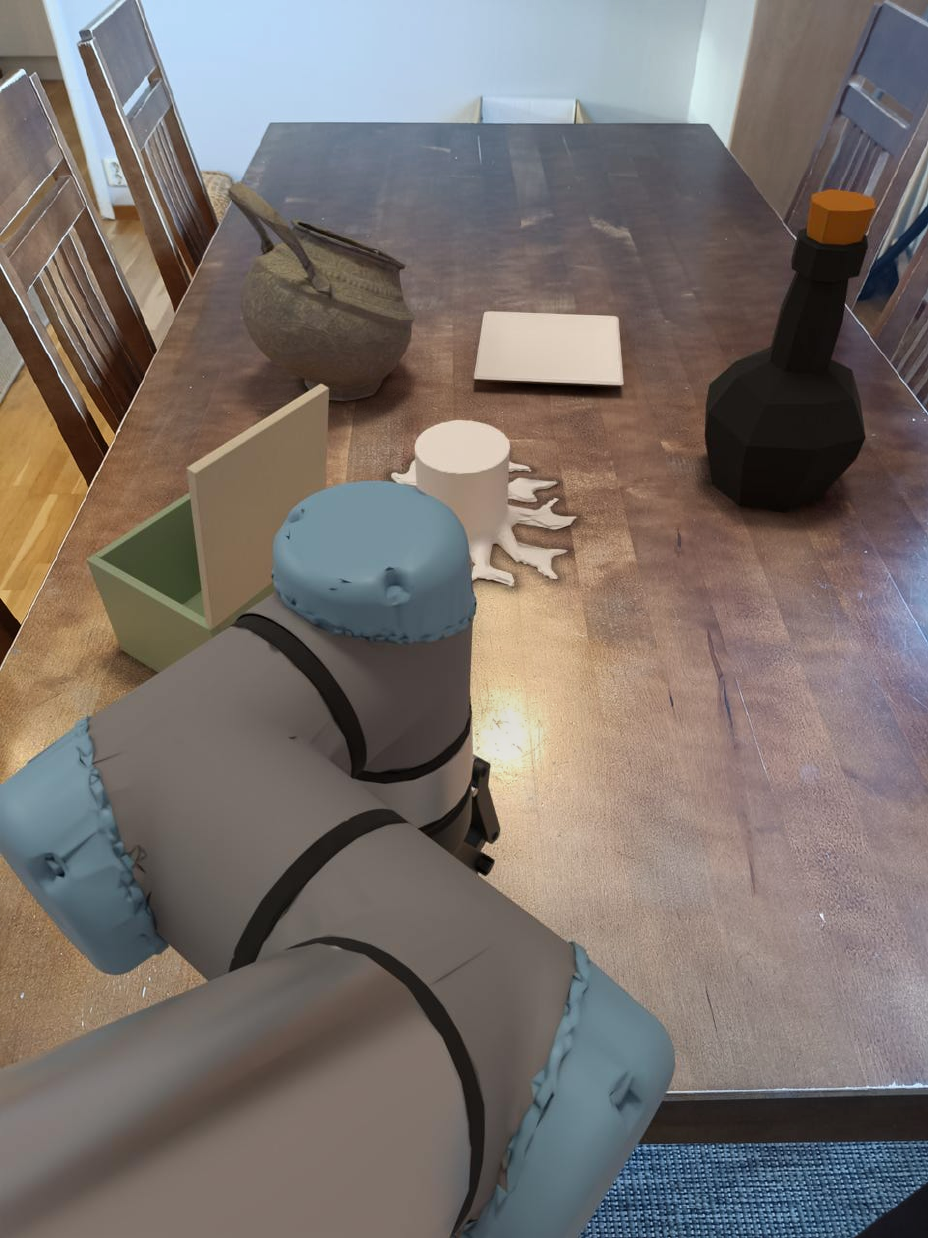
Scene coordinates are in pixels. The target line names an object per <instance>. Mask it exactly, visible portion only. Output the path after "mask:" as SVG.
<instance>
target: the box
mask: <svg viewBox="0 0 928 1238" xmlns="http://www.w3.org/2000/svg"><path fill="white" fill-rule="evenodd" d="M86 562H87V565H88V569H89V571H90V573H91V576H92V578H93V581H94V583H95V585H96V588H97V591H98V594H99V596H100V599H101V602H102V603H103V606H104V609H105V611H106V614H107V617H108V619H109V622H110V625H111V627H112V629H113V632H114V635H115V637H116V640H117V643H118V645H119V648H120V649H121V651H123V652H124V653H125V654H127V655H128V656H130V657H132V658H134V659H135V660H137V661H139V663H142V664H143V665H145V666H147V667H148V668H150V669H151V670H153V671H154V672H156V673H157V674H158V673H160V672H161V671H163V670H164V669H166V668H167V667H169V666H170V665H172V664H173V663H175V662H177V661H178V660H180V659H181V658H183V657H184V656H186V655H187V654H189V653H190V652H192V651H193V650H195V649H196V648H198V647H199V646H201V645H202V644H204V643H206V642H207V641H209V640H210V639H212V638H213V637H215V636H216V635H218V634H219V633H221V632H222V631H223V630H224V629H226V628H227V627H229V626H230V625H232V624H233V623H235V621H236V619H237V618H238V617H239V616H241V615H242V614H243V613H245V612H246V611H247V610H249V609H250V608H252V607H253V606H255V605H256V604H258V603H259V602H261V601H263V600H264V599H265V598H267V597H268V596H270V595H271V594H273V593H274V592H275V588H276V587H275V586H274V585H273V583H274V581H273V582H272V583H271V584H270V585H268V586H267V587H266V588H264V589H263V590H262V591H261V592H259V593H258V594H257V595H256V596H254V597H253V598H252V599H250V600H249V601H248V602H247V603H245V604H244V605H243V606H242V607H240V608H239V609H238V610H236V611H235V612H234V613H233V614H231V615H230V616H229V617H228V618H226V619H225V620H224V621H222V622H221V623H220V624H219V625H217V626H216V627H215V628H211V627H210V626H209V625H207V624H206V620H205V612H204V604H203V596H202V588H201V580H200V572H199V564H198V556H197V548H196V540H195V532H194V523H193V515H192V507H191V499H190V491H189V492H188V493H186V494H184V495H183V496H181V497H179V498H178V499H177V500H175V501H174V502H172V503H170V504H169V505H168V506H166V507H164V508H163V509H161V510H159V511H158V512H157V513H155V514H153V515H152V516H150V517H149V518H147V519H146V520H144V521H143V522H141V523H139V524H138V525H137V526H135V527H133V528H132V529H131V530H129V531H128V532H126V533H125V534H123V535H121V536H119V537H118V538H117V539H115V540H114V541H111V542H110V543H109V544H107V545H105V546H104V547H103V548H101V549H100V550H98V551H97V552H95V553H94V554H92V555H91V556H89V557H87V558H86Z"/></svg>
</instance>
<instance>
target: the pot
mask: <svg viewBox="0 0 928 1238" xmlns="http://www.w3.org/2000/svg"><path fill="white" fill-rule="evenodd" d="M227 196H228V198H229V199H230V201H231V202H232V203H233V204H234V205H235V206H236V207H237V208H238V210H239V211H240V212H241V213H242V214H243V215H244V217H245V218H246V219H247V221H248V222H249V223H250V224H251V226H252V227H253V228H254V230H255V232H256V233H257V234H258V236H259V239H260V250H261V252H262V254H260V255H256V256H254V257H253V261H252V263H251V267H250V270H249V271H248V273H247V274H246V276H245V277H244V279H243V283H242V287H241V293H240V310H241V314H242V318H243V321H244V326H245V328H246V331H247V332H248V334H249V337H250V339H251V340H252V342H253V343H254V344H255V345H256V347H257V348H258V350H260V352H261V353H262V354H263V355H264V356H265V357H267V358H268V359H269V360H270V361H271V362H272V363H274V364H275V365H277V366H278V367H280V368H281V369H283V370H285V371H287V372H288V373H289V374H291V375H294V376H296V377H299V378H301V379H303V380H304V385H305V386H306V388H307V389H308V391H310V390H311V389H313V388H314V387H316V386H318V385H319V384H323V385H325V386H326V387H328V388H329V401H339V402H346V401H352V400H353V401H354V400H360V399H364V398H366V397H370V396H374V395H375V393H377V391H378V390H379V388H380V387H381V384H382V383H383V381H384V379H385V378H386V377H387V376H388V374H390V373H391V372H392V371H393V370H394V368H395V367H396V366H397V365H398V363H399V362H400V360H401V359H402V358H403V356H404V355H405V354H406V352H407V350H408V349H409V345H410V343H411V341H412V335H413V334H412V333H413V328H412V324H413V323H414V321H415V320H416V318H415V317H416V316H415V314H414V313H413V312H412V311H411V310H410V309H409V307H408V305H407V303H406V302H405V298H404V293H403V289H402V283H401V275H400V272H401V271H404V270H405V269H406V263H404V262H402V261H401V260H399V259H398V258H396V257H394V256H392V255H390V254H389V253H387V252H386V251H385V250H382V249H379V248H375V247H374V246H371V245H369V244H368V243H366V242H363V241H361V240H358V239H355V238H353V237H349V236H345V235H341V234H339V233H335V232H333V231H331V230H328V229H326V228H324V227H321V226H319V225H317V224H314V223H312V222H305V221H303V220H301V219H298V218H295V219H291V220H290V224H291V226H292V229H291V228H290V226H289V225H288V223H287V222H286V221H285V220H284V218H283V217H282V215H281V214H280V212H278V210H276V209H275V207H273V206H271V204H269V203H268V202H267V201H266V200H265V199H264V198H262V197H261V196H260V195H258V193H256V191H254V190H253V189H251V188H250V187H249V186H247V185H245V184H244V183H242V182H241V181H239V180H238V181H237V182H235V183H234V184H233V185H231V186H230V187H229V188H228V189H227ZM262 223H263V224H265V225H266V226H267V227H268V228H269V229H271V230H272V231H273V232H274V233H275V234H276V235H277V237H278V238H279V239H280V240H281V241H282V242H280V243H277V244H274V243H273V241H272V239H271V238H270V236H269V234H268V232H267V231H266V229H265V227H264V226H263V224H262Z"/></svg>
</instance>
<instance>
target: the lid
mask: <svg viewBox="0 0 928 1238" xmlns="http://www.w3.org/2000/svg"><path fill="white" fill-rule="evenodd" d="M329 401H330V400H329V388H328V387H326V386H325V385H323V384H319V385H318V386H316V387H314V388H313V389H311V390H308V391H307V392H305V393H303V394H302V395H300V396H298V397H297V398H295V399H294V400H292V401H291V402H289V403H287V404H285V405H284V406H282V407H281V408H279V409H278V410H276V411H275V412H273V413H272V414H270V415H268V416H266V417H265V418H264V419H263V418H262V420H261V421H259V422H257V423H255V424H254V425H252V426H250V427H249V428H248V429H246V430H244V431H242V432H241V433H239V434H238V435H236V436H235V437H233V438H232V439H230V440H228V441H227V442H225V443H223V444H222V445H221V446H219V447H217V448H216V449H214V450H213V451H210V452H209V453H207V454H206V455H204V456H203V457H201V458H200V459H198V460H196V461H195V462H193V463H192V464H190V465H188V466H187V467H186V475H187V482H188V490H189V492H190V499H191V507H192V515H193V523H194V532H195V540H196V548H197V556H198V564H199V572H200V580H201V588H202V596H203V604H204V612H205V620H206V624H207V625H209V626H210V627H211V628H215V627H216V626H217V625H219V624H220V623H221V622H222V621H224V620H225V619H226V618H228V617H229V616H230V615H231V614H233V613H234V612H235V611H236V610H238V609H239V608H240V607H242V606H243V605H244V604H245V603H247V602H248V601H249V600H250V599H252V598H253V597H254V596H256V595H257V594H258V593H259V592H261V591H262V590H263V589H264V588H266V587H267V586H268V585H270V584H271V583H272V582H273V579H272V578H271V576H272V574H271V569H272V567H273V566H274V562H273V543H274V538H275V535H276V534H277V532H278V531H279V529H280V528H281V527H282V525H283V523H284V522H285V520H286V519H287V517H288V515H289V513H290V511H291V510H292V509H293V508H294V507H295V506H296V505H297V504H299V503H300V502H302V501H303V500H304V499H306V498H308V497H309V496H311V495H313V494H315V493H317V492H319V491H322V490H324V489H327V469H328V467H327V464H328V463H327V462H328V433H329Z"/></svg>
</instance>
